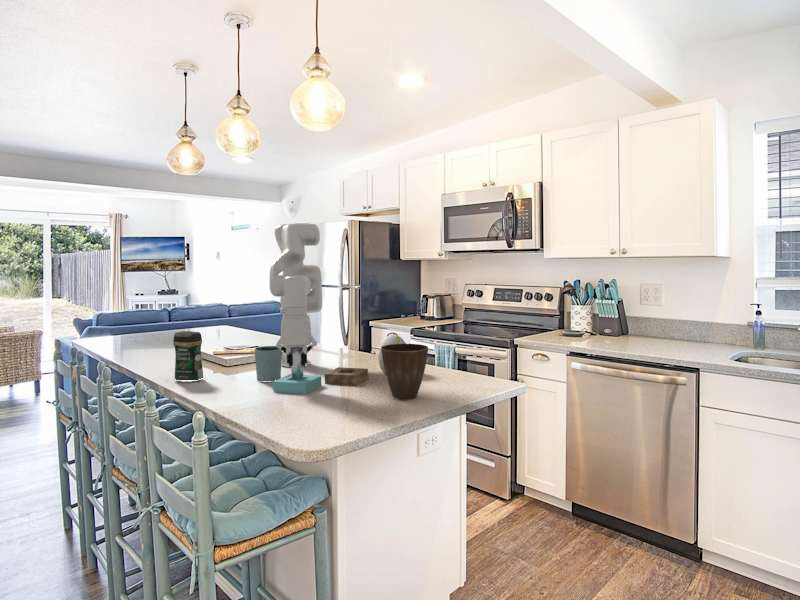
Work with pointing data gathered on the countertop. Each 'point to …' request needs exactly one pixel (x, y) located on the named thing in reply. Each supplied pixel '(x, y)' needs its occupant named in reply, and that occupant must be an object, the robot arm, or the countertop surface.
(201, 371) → the coffee jar
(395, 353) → the plant pot
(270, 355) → the grey-blue cup
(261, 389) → the countertop surface
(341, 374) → the mount block
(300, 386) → the socket block
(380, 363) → the decorative egg
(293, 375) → the pin
